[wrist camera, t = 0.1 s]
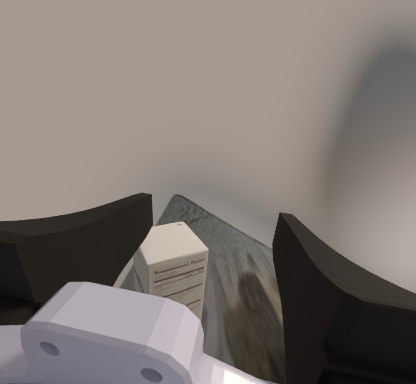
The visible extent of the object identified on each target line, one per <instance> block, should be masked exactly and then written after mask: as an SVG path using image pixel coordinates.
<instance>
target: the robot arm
mask: <svg viewBox="0 0 416 384" xmlns="http://www.w3.org/2000/svg"><path fill="white" fill-rule="evenodd" d="M152 226H153V213H152V194H146V193H139V194H135V195H132V196H129V197H126V198H123V199H120V200H117V201H114V202H111V203H108V204H105V205H102V206H99V207H96V208H92V209H88V210H85V211H80V212H76V213H72V214H66V215H60V216H54V217H49V218H39V219H30V220H18V221H0V384H277V383H273V382H269V381H265V380H261V379H257V378H255V377H253V376H251V375H249V374H246V373H244V372H242V371H240V370H238V369H236V368H234V367H232V366H230V365H227V364H225V363H223V362H221V361H219V360H217V359H215V358H213V357H211V356H208V355H206V354H204V353H203V340H204V333H203V329H202V326H201V322H200V320H199V319H198V317H197V316H196V315H195V314H194V313H192V312H191V311H190V310H189V309H188V308H187V307H186V306H185V305H183V304H180V303H178V302H175V301H173V300H170V299H168V298H163V297H159V296H154V295H149V294H144V293H139V292H135V291H130V290H125V289H120V288H115V287H113V285H114V283H115V281H116V280H117V278H118V276H119V275H120V273H121V272H122V270H123V269H124V267H125V266H126V264H127V263H128V262H129V260H130V259H131V258H132V256H133V255H134V254H135V252H136V251H137V250H138V248H139V247H140V246H141V244H142V243H143V241H144V240H145V239H146V237H147V235H148V233H149V232H150V230H151V228H152ZM272 245H273V262H274V267H275V272H276V277H277V283H278V288H279V293H280V298H281V305H282V315H283V327H284V342H285V359H286V380H287V384H416V293H413V292H410V291H408V290H406V289H403V288H401V287H399V286H397V285H395V284H393V283H391V282H389V281H387V280H384V279H382V278H380V277H378V276H377V275H375V274H373V273H371V272H369V271H367V270H365V269H364V268H362V267H360V266H358V265H357V264H355V263H353V262H351V261H350V260H348V259H347V258H345V257H344V256H342V255H341V254H339V253H338V252H336V251H335V250H333V249H332V248H331V247H329V246H328V245H327V244H326V243H324V242H323V241H322V240H320V239H319V238H318V237H317V236H316V235H314V234H313V233H312V232H311V231H310V230H309V229H308V228H306V226H304V225H303V224H302V223H301V222H300V221H299V220H298V219H297V218H296V217H295V216H293V215H292V214H287V213H279V218H278V222H277V226H276V230H275V235H274V239H273V243H272Z"/></svg>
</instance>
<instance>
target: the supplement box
mask: <svg viewBox="0 0 416 384" xmlns="http://www.w3.org/2000/svg"><path fill="white" fill-rule="evenodd" d="M133 258H134V286H135V292H139V293H144V294H149V295H154V296H159V297H163V298H168V299H170V300H173V301H175V302H178V303H180V304H183V305H185V306H186V307H187V308H188V309H189V310H190V311H191V312H192V313H194V314H195V315H196V316H197V317H198V319H199V320H200V322H201V315H202V305H203V296H204V287H205V277H206V268H207V259H208V248H207V247H206V246H205V245H204V244H203V243H202V242H201V240H200V239H199V238H198V237H197V236H196V235H195V234H194V233H193V232H192V231H191V229H190V228H189V227H188V226H187V225H186V224H185V223H184V222H177V223H171V224H166V225H161V226H155V227H152V228H151V230H150V232H149V233H148V235H147V237H146V239H145V240H144V241H143V243H142V244H141V246H140V247H139V248H138V250H137V251H136V252H135V254H134V255H133Z"/></svg>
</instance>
